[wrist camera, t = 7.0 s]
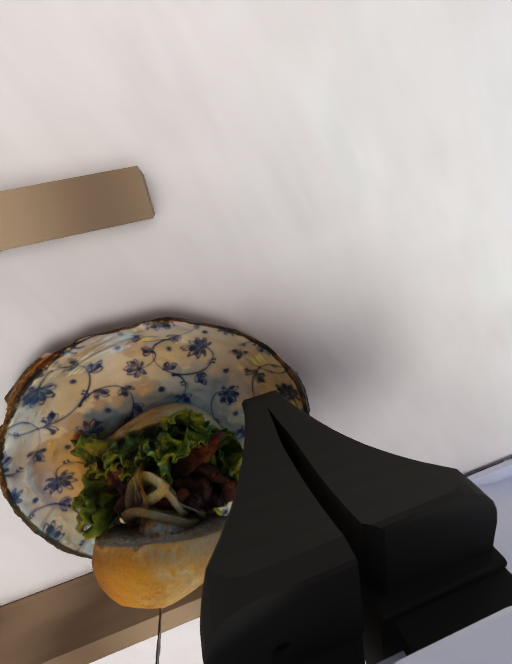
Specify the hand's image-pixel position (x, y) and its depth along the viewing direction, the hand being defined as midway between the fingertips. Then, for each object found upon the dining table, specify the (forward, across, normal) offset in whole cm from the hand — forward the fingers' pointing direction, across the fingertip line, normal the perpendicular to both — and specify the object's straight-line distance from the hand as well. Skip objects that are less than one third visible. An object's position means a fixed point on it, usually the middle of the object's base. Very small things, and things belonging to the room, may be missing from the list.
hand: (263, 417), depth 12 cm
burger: (+3, +4, +1) cm, 5 cm away
